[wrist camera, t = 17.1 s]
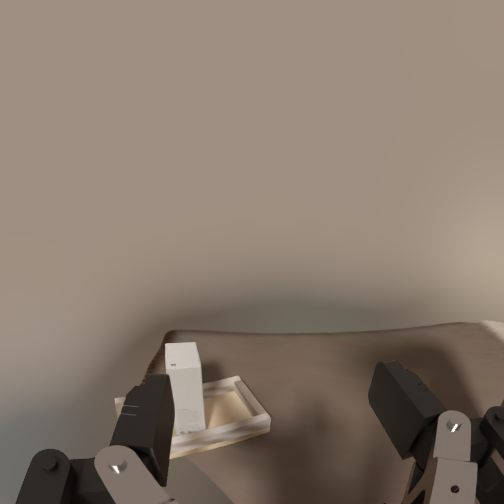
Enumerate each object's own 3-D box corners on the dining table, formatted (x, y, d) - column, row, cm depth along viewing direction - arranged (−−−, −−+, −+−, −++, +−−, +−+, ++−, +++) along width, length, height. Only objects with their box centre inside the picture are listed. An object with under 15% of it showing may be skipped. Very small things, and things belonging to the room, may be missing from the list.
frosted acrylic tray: (238, 389, 47) (238, 375, 47) (269, 431, 38) (271, 418, 37) (118, 412, 39) (114, 398, 38) (129, 465, 29) (123, 451, 29)
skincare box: (207, 434, 36) (202, 367, 33) (176, 437, 35) (164, 369, 32) (201, 406, 41) (196, 340, 38) (173, 408, 40) (163, 342, 37)
